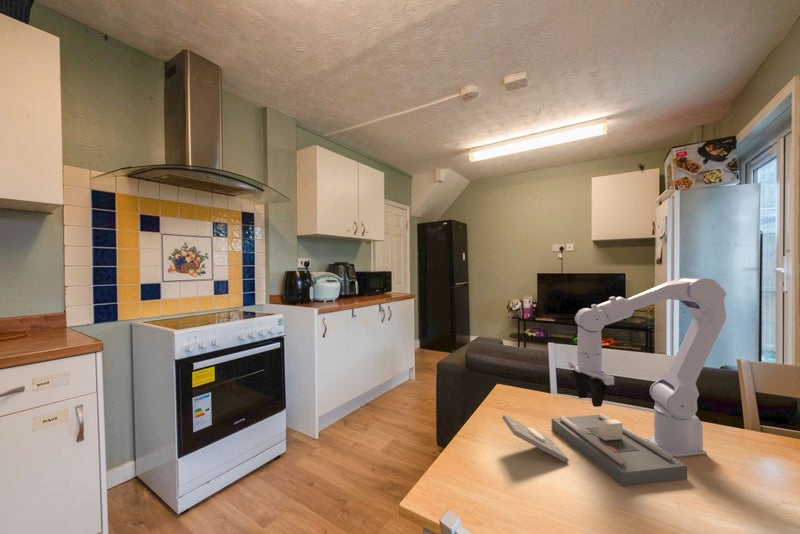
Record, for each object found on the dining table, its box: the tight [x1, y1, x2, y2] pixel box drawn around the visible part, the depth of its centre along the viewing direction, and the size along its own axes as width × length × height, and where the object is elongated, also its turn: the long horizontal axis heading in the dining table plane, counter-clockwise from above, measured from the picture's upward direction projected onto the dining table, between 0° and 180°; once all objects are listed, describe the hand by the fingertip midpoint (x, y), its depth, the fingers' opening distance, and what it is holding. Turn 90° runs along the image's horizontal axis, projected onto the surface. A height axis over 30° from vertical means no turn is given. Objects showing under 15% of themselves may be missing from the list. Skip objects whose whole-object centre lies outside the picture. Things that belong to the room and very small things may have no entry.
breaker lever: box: [598, 418, 623, 440], centre depth 79 cm, size 5×2×4 cm, turn 98°
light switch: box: [502, 414, 570, 464], centre depth 78 cm, size 8×6×14 cm
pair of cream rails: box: [559, 412, 674, 466], centre depth 79 cm, size 13×21×1 cm, turn 8°
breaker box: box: [551, 414, 689, 488], centre depth 79 cm, size 16×24×3 cm, turn 8°
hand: (589, 401), depth 86 cm, fingers open, 5 cm apart
